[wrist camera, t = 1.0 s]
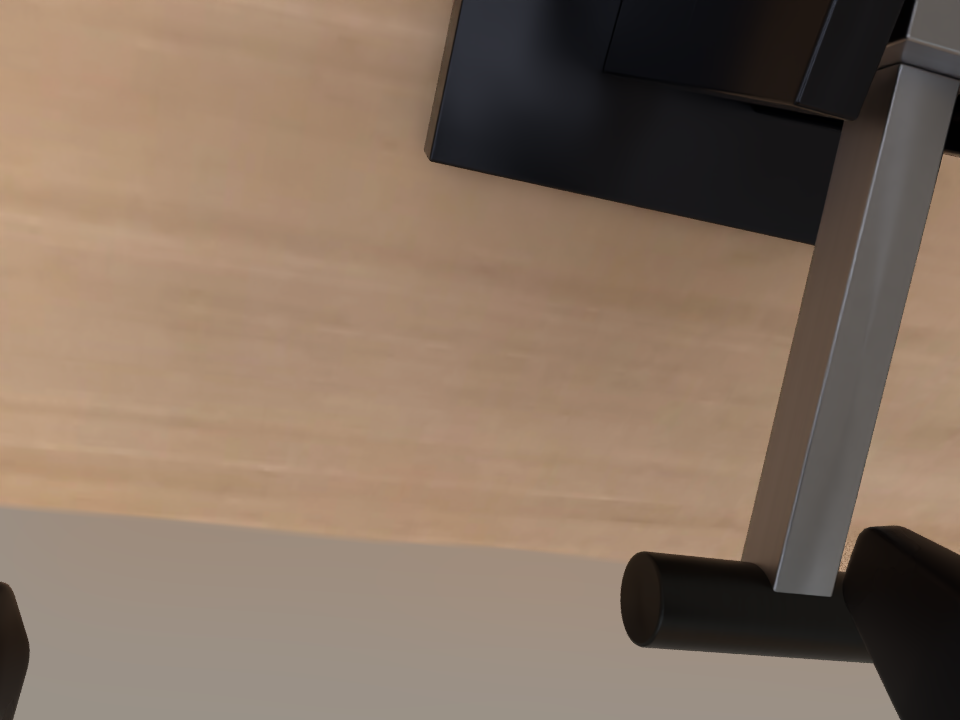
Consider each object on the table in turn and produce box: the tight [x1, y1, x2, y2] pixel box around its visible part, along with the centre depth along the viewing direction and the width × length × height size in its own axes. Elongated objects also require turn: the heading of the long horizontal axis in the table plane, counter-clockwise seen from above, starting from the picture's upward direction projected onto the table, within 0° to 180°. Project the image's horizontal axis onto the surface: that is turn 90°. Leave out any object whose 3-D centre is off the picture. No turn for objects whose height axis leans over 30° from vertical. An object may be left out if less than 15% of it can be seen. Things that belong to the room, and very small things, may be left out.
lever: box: [620, 0, 960, 663], centre depth 12 cm, size 12×5×2 cm, turn 167°
